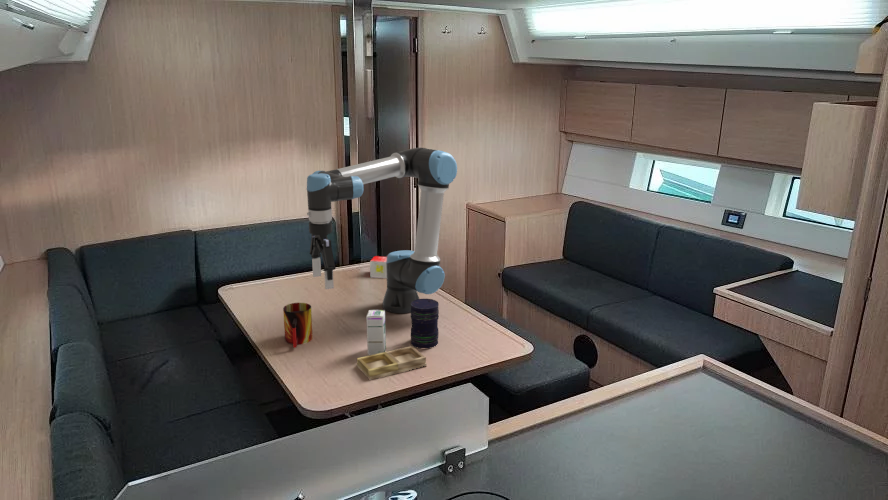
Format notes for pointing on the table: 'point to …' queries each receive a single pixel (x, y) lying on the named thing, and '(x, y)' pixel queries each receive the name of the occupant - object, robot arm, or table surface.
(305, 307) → the mug
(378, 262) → the white red cube
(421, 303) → the storage jar
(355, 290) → the table surface
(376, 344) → the syrup box
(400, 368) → the socket board
